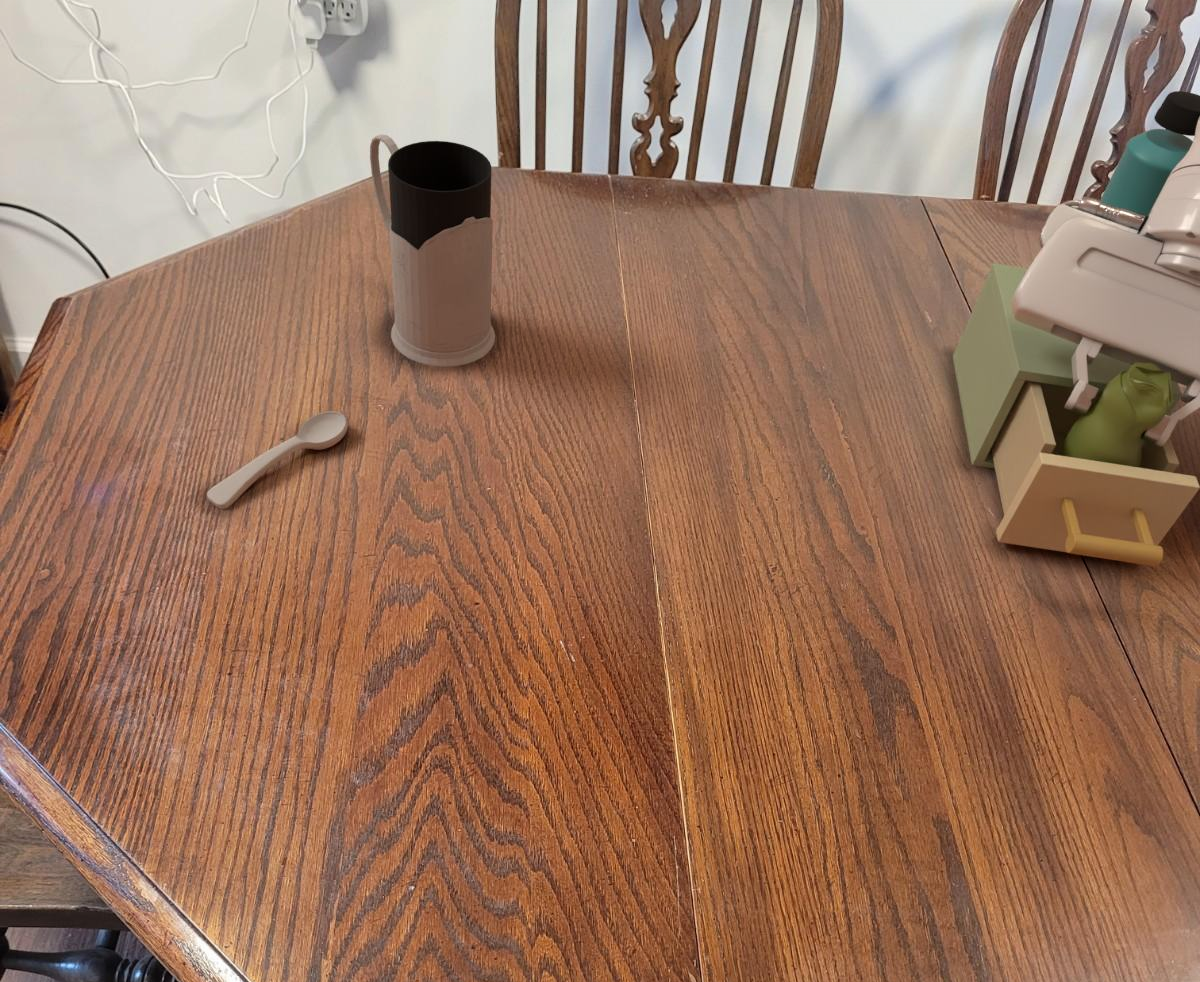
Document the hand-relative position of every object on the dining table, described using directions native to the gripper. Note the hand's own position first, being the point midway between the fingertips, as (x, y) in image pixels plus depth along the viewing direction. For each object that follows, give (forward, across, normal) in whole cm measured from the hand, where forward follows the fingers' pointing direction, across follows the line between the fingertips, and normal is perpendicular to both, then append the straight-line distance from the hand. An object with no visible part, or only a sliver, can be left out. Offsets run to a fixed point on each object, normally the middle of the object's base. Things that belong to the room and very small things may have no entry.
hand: (1113, 426), depth 73 cm
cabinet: (-1, -5, +15) cm, 16 cm away
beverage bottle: (-16, -5, +30) cm, 34 cm away
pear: (+4, 0, +4) cm, 6 cm away
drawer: (+6, 0, +7) cm, 9 cm away
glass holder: (+13, -53, +1) cm, 54 cm away
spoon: (+28, -50, -14) cm, 59 cm away
